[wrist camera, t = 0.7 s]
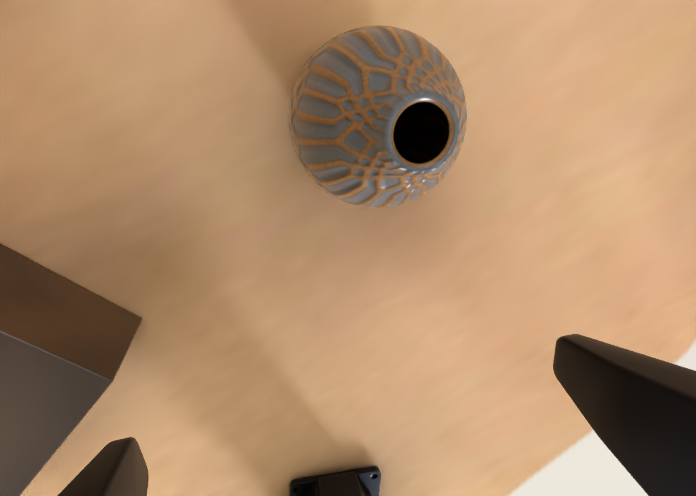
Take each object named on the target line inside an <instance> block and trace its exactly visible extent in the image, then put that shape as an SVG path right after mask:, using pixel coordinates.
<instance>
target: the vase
mask: <svg viewBox="0 0 696 496" xmlns="http://www.w3.org/2000/svg"><path fill="white" fill-rule="evenodd" d="M466 118H467V113H466V102H465V96H464V92H463V88H462V85H461V83H460V80H459V78H458V76H457V74H456V72H455V70H454V68H453V67H452V65H451V64H450V62H449V61H448V60H447V58H446V57H445V56H444V55H443V54H442V53H441V52H440V51H439V50H438V49H437V48H436V47H435V46H433V45H432V44H431V43H429V42H428V41H427V40H425V39H423V38H422V37H420V36H418V35H416V34H414V33H412V32H409V31H407V30H404V29H400V28H396V27H390V26H366V27H361V28H356V29H353V30H350V31H348V32H345V33H343V34H340V35H339V36H337V37H335V38H333V39H332V40H330V41H329V42H327V43H326V44H325V45H323V46H322V47H321V48H320V49H319V50H318V51H317V52H316V53H315V54H314V55H313V56H312V57H311V58H310V59H309V60H308V62H307V63H306V64H305V66H304V68H303V69H302V71H301V73H300V74H299V76H298V79H297V81H296V83H295V86H294V89H293V92H292V96H291V100H290V107H289V128H290V134H291V139H292V143H293V146H294V149H295V152H296V154H297V156H298V158H299V160H300V162H301V164H302V166H303V167H304V169H305V170H306V172H307V173H308V174H309V176H310V177H311V178H312V179H313V180H314V181H315V182H316V183H317V184H318V185H319V186H320V187H321V188H323V189H324V190H325V191H326V192H328V193H329V194H331V195H333V196H334V197H336V198H338V199H340V200H343V201H345V202H348V203H351V204H354V205H359V206H365V207H389V206H395V205H399V204H403V203H406V202H409V201H411V200H413V199H416V198H417V197H419V196H421V195H423V194H424V193H426V192H427V191H429V190H430V189H431V188H433V187H434V186H435V185H436V184H437V183H438V182H439V181H440V180H441V179H442V178H443V177H444V176H445V175H446V173H447V172H448V171H449V169H450V168H451V166H452V165H453V163H454V161H455V160H456V158H457V156H458V153H459V151H460V148H461V146H462V143H463V139H464V135H465V129H466Z"/></svg>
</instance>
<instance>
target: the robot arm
mask: <svg viewBox="0 0 696 496" xmlns="http://www.w3.org/2000/svg"><path fill="white" fill-rule="evenodd" d="M553 370H554V373H555V376H556V378H557V379H558V381H559V382H560V383H561V385H562V386H563V388H564V389H565V390H566V392H567V393H568V395H569V396H570V397H571V399H572V400H573V402H574V403H575V404H576V406H577V407H578V409H579V410H580V411H581V413H582V414H583V416H584V417H585V418H586V420H587V421H588V423H589V424H590V425H591V427H592V428H593V430H594V431H595V432H596V434H597V435H598V436H599V438H600V439H601V440H602V441H603V442H604V444H605V445H606V446H607V447H608V449H609V450H610V451H611V452H612V453H613V454H614V456H615V457H616V458H617V459H618V460H619V461H620V463H621V464H622V465H623V466H624V467H625V468H626V470H627V471H628V472H629V473H630V474H631V476H632V477H633V478H634V479H635V480H636V481H637V483H638V484H639V485H640V486H641V487H642V488H643V489H644V491H645V492H646V493H647V494H648V495H649V496H696V371H694V370H690V369H688V368H684V367H681V366H678V365H675V364H672V363H668V362H665V361H662V360H659V359H656V358H652V357H649V356H646V355H643V354H640V353H636V352H633V351H630V350H627V349H624V348H620V347H617V346H614V345H611V344H608V343H604V342H601V341H598V340H595V339H592V338H588V337H585V336H582V335H579V334H571V335H567V336H562V337H560V338H558V340H557V341H556V347H555V355H554V363H553ZM380 480H381V473H380V470H379V468H378V467H376V466H373V467H367V468H361V469H355V470H349V471H343V472H337V473H331V474H325V475H319V476H313V477H307V478H301V479H296V480H293V481H291V483H290V484H289V496H379V490H380ZM147 488H148V469H147V466H146V463H145V460H144V458H143V455H142V453H141V450H140V447H139V445H138V442H137V441H136V439H135V438H132V437H129V438H124V439H120V440H116V441H112V442H110V443H109V444H107V445H106V446H105V447H104V448H103V449H102V450H101V451H100V452H99V453H98V454H97V456H96V457H95V458H94V459H93V460H92V461H91V462H90V463H89V464H88V465H87V466H86V467H85V468H84V469H83V470H82V471H81V472H80V473H79V474H78V475H77V476H76V477H75V478H74V479H73V480H72V481H71V482H70V483H69V484H68V486H67V487H66V488H65V489H64V490H63V491H62V492H61V493H60V494H59V495H58V496H147Z"/></svg>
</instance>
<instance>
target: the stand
mask: <svg viewBox="0 0 696 496" xmlns="http://www.w3.org/2000/svg"><path fill="white" fill-rule="evenodd" d="M141 320H142V319H141V318H140V317H138V316H136V315H134V314H132V313H130V312H128V311H126V310H124V309H123V308H121V307H119V306H117V305H115V304H113V303H111V302H109V301H107V300H105V299H103V298H102V297H100V296H98V295H96V294H94V293H92V292H90V291H88V290H86V289H84V288H83V287H81V286H79V285H77V284H75V283H73V282H71V281H69V280H67V279H65V278H63V277H62V276H60V275H58V274H56V273H54V272H52V271H50V270H48V269H46V268H44V267H42V266H41V265H39V264H37V263H35V262H33V261H31V260H29V259H27V258H25V257H23V256H22V255H20V254H18V253H16V252H14V251H12V250H10V249H8V248H6V247H4V246H2V245H1V244H0V496H20V495H21V494H22V492H23V491H24V490H25V489H26V488H27V486H28V485H29V484H30V483H31V481H32V480H33V479H34V478H35V476H36V475H37V474H38V473H39V472H40V470H41V469H42V468H43V467H44V465H45V464H46V463H47V462H48V460H49V459H50V458H51V457H52V456H53V454H54V453H55V452H56V451H57V449H58V448H59V447H60V446H61V445H62V443H63V442H64V441H65V440H66V438H67V437H68V436H69V435H70V433H71V432H72V431H73V430H74V429H75V427H76V426H77V425H78V424H79V422H80V421H81V420H82V419H83V417H84V416H85V415H86V414H87V413H88V411H89V410H90V409H91V408H92V406H93V405H94V404H95V403H96V401H97V400H98V399H99V398H100V397H101V395H102V394H103V393H104V392H105V390H106V389H107V388H108V387H109V385H110V384H111V383H112V382H113V380H114V378H115V376H116V374H117V372H118V370H119V367H120V365H121V363H122V361H123V359H124V357H125V355H126V352H127V350H128V348H129V346H130V344H131V342H132V340H133V337H134V335H135V333H136V331H137V329H138V327H139V325H140V323H141Z"/></svg>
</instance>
